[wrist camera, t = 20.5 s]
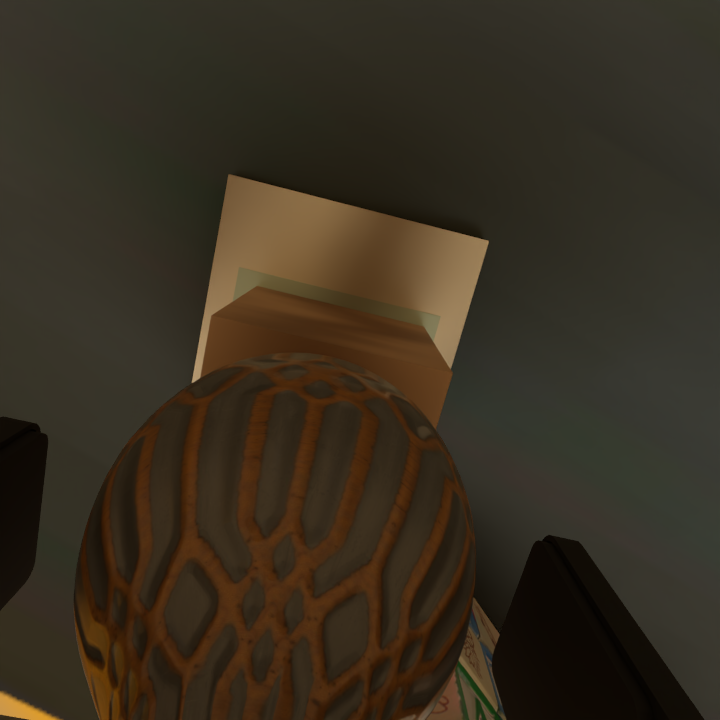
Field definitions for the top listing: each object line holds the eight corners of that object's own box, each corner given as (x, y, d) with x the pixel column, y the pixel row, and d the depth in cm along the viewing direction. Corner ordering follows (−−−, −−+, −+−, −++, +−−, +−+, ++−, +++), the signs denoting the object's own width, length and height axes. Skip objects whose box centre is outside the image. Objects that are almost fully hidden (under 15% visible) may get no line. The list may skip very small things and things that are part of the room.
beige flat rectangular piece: (483, 239, 19) (489, 240, 18) (390, 551, 22) (392, 564, 22) (234, 176, 19) (228, 174, 18) (174, 506, 22) (167, 517, 21)
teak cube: (423, 326, 19) (452, 373, 13) (381, 477, 21) (390, 578, 15) (256, 285, 19) (211, 315, 13) (225, 442, 20) (172, 532, 14)
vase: (497, 444, 14) (723, 807, 5) (323, 618, 15) (278, 1135, 7) (287, 264, 13) (139, 357, 4) (117, 470, 14) (-261, 863, 5)
